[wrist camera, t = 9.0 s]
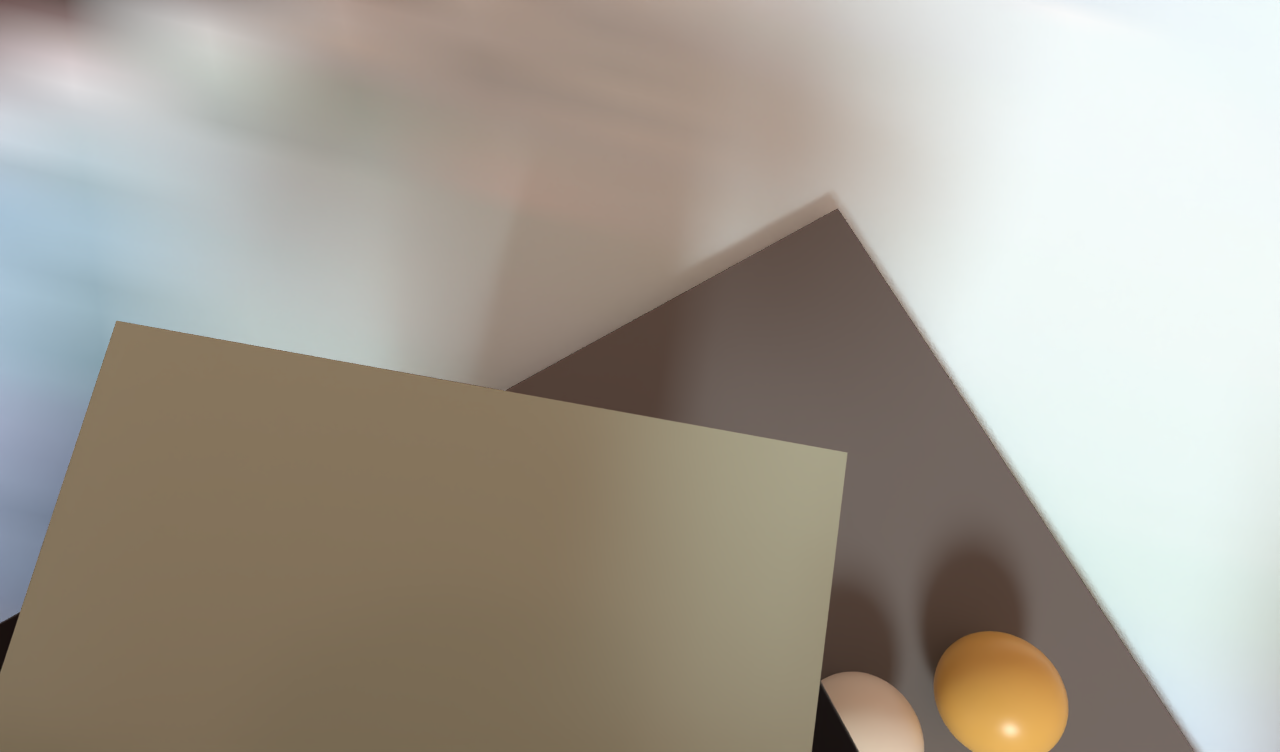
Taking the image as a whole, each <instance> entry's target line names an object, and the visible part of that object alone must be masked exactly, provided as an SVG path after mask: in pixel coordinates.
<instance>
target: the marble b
mask: <svg viewBox="0 0 1280 752" xmlns="http://www.w3.org/2000/svg"><path fill="white" fill-rule="evenodd" d="M933 686H934V698H935V702H936V706H937V708H938V711H939V714H940V716H941V718H942V720H943V722H944V723H945V725H946V726H947V728H948V729H949V731H950V732H951V733H952V734H953V735H954V737H955V738H956V739H957V740H958V741H959V742H961V743H962V744H963V745H964V746H965V747H967V748H968V749H969V750H971V751H972V752H1048V751H1050V750H1051V749H1052V748H1053V747H1054V746H1055V745H1056V744H1057V742H1058V741H1059V739H1060V738H1061V736H1062V734H1063V732H1064V730H1065V727H1066V724H1067V719H1068V710H1069V709H1068V698H1067V693H1066V689H1065V686H1064V684H1063V681H1062V679H1061V677H1060V675H1059V673H1058V671H1057V669H1056V668H1055V667H1054V665H1053V664H1052V663H1051V661H1050V660H1049V659H1048V658H1047V657H1046V656H1045V655H1044V654H1043V653H1042V652H1041V651H1040V650H1039V649H1037V648H1036V647H1035V646H1033V645H1032V644H1030V643H1029V642H1027V641H1025V640H1023V639H1021V638H1019V637H1016V636H1014V635H1011V634H1008V633H1003V632H997V631H983V632H976V633H972V634H969V635H966V636H964V637H962V638H960V639H959V640H957V641H955V642H954V643H953V644H952V645H950V646H949V647H948V648H947V649H946V651H945V652H944V653H943V655H942V656H941V658H940V660H939V662H938V665H937V667H936V671H935V675H934V683H933Z"/></svg>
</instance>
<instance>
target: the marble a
mask: <svg viewBox="0 0 1280 752" xmlns="http://www.w3.org/2000/svg"><path fill="white" fill-rule="evenodd" d="M821 682H822V684H823V686H824V688H825V690H826V691H827V693H828V695H829V697H830V699H831V701H832V702H833V704H834V706H835V708H836V710H837V712H838V713H839V715H840V717H841V719H842V721H843V723H844V724H845V726H846V728H847V730H848V732H849V734H850V736H851V737H852V739H853V741H854V743H855V745H856V747H857V748H858V750H859V752H924V739H923V733H922V729H921V725H920V723H919V720H918V717H917V715H916V713H915V712H914V710H913V708H912V707H911V705H910V704H909V702H908V701H907V699H906V698H905V697H904V696H903V695H902V694H901V693H900V692H899V691H898V690H897V689H896V688H895V687H893V686H892V685H891V684H889V683H888V682H886V681H885V680H883V679H881V678H879V677H876V676H873V675H871V674H868V673H863V672H853V671H852V672H841V673H837V674H833V675H831V676H828V677H826V678H825V679H823V680H821Z"/></svg>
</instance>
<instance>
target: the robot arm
mask: <svg viewBox="0 0 1280 752" xmlns="http://www.w3.org/2000/svg"><path fill="white" fill-rule="evenodd" d="M19 614H20V612H19V613H17V614H16V615H14V616H12V617H10V618H8V619H7V620H5V621H3V622H1V623H0V672H1V669H2V666H3V663H4V660H5V657H6V654H7V651H8V648H9V645H10V642H11V639H12V636H13V633H14V629H15V626H16V623H17V620H18V617H19ZM812 752H859V750H858V748H857V747H856V745H855V743H854V741H853V739H852V737H851V736H850V734H849V732H848V730H847V728H846V726H845V724H844V723H843V721H842V719H841V717H840V715H839V713H838V712H837V710H836V708H835V706H834V704H833V702H832V701H831V699H830V697H829V695H828V693H827V691H826V690H825V688H824V686H823V684H822V682H821V680H820V686H819V695H818V703H817V711H816V720H815V728H814V736H813V745H812Z"/></svg>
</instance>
